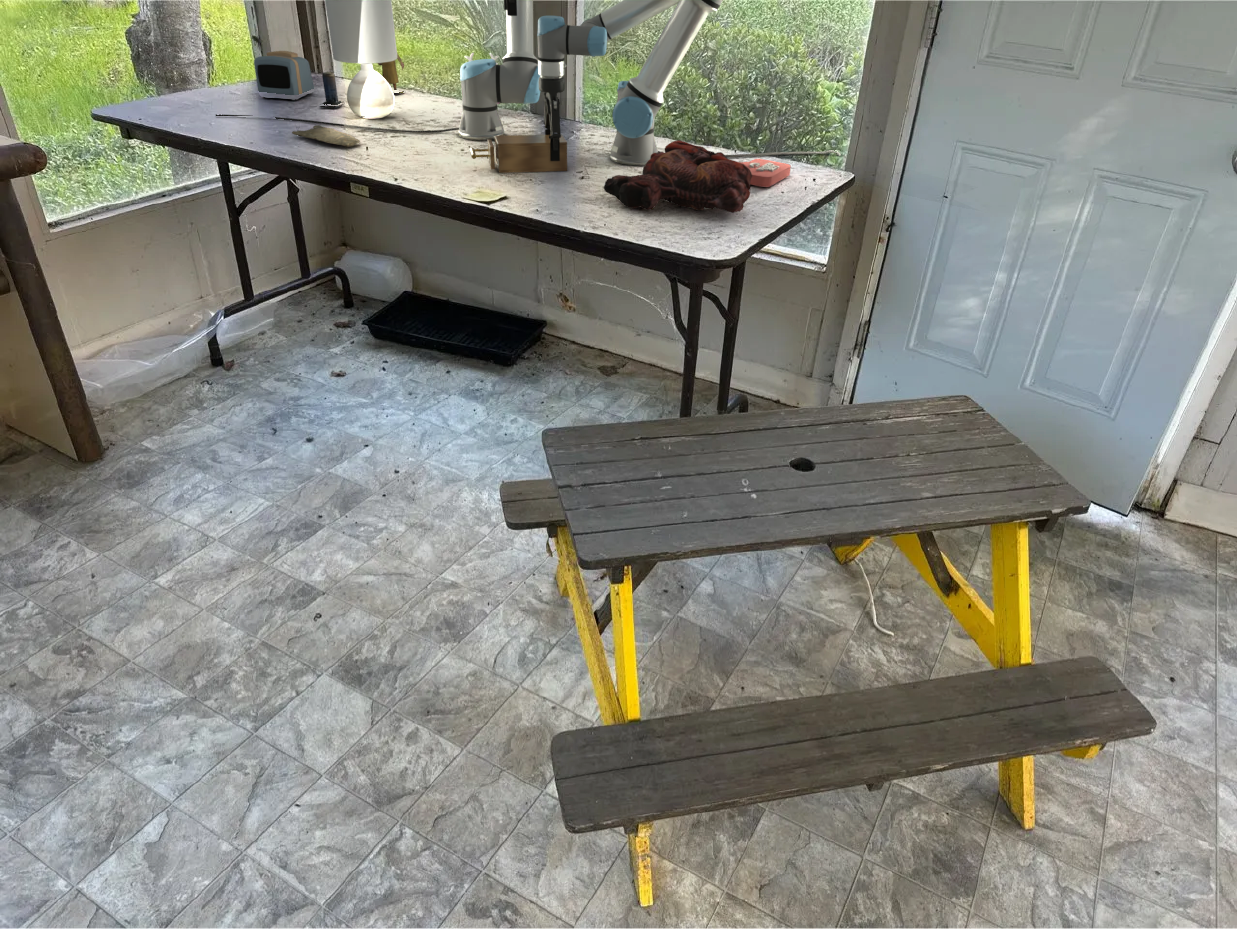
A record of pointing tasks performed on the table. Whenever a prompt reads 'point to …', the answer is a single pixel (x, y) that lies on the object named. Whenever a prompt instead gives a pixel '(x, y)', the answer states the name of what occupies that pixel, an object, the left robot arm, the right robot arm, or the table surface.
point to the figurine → (391, 72)
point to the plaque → (767, 172)
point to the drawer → (490, 153)
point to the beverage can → (330, 90)
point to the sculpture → (685, 180)
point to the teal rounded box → (283, 73)
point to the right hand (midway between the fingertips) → (552, 155)
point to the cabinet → (528, 154)
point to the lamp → (364, 51)
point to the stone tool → (328, 136)
